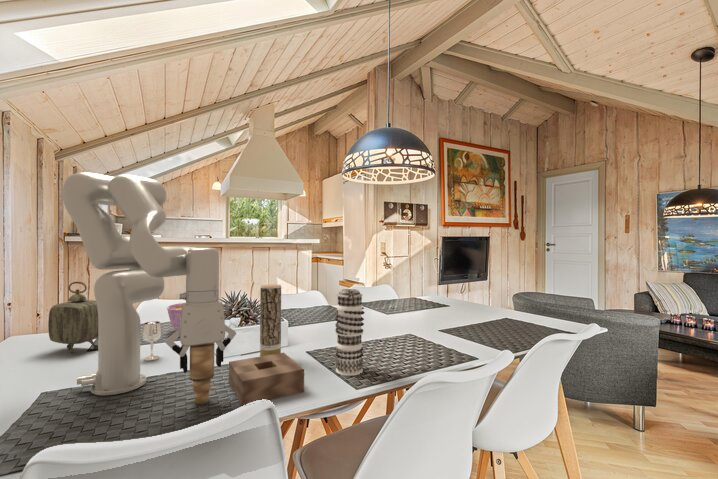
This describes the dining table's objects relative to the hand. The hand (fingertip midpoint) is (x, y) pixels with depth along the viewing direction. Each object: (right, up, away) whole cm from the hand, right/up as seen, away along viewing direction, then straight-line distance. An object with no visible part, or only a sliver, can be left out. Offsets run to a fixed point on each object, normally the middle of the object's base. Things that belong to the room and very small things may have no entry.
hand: (202, 367), depth 88 cm
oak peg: (0, -8, 0) cm, 8 cm away
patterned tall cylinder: (+36, -9, +21) cm, 43 cm away
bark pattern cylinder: (+9, -9, +30) cm, 33 cm away
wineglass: (-31, -8, +31) cm, 45 cm away
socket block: (+14, -8, +8) cm, 18 cm away
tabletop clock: (-62, -8, +38) cm, 73 cm away
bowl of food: (-34, -9, +66) cm, 74 cm away
